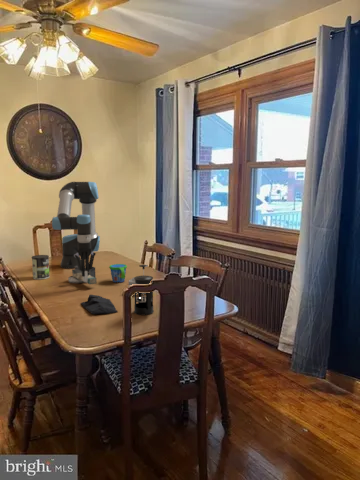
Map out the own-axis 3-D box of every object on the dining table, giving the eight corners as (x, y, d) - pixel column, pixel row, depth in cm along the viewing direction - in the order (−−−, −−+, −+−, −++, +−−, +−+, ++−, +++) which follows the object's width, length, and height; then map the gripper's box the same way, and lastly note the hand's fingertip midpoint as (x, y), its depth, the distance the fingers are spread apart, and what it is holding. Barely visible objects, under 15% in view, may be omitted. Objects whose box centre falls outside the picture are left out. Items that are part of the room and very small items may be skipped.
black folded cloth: (86, 318, 172) (86, 308, 172) (80, 303, 192) (79, 294, 192) (119, 313, 178) (119, 304, 178) (109, 300, 198) (109, 291, 198)
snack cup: (106, 279, 239) (106, 263, 238) (122, 277, 244) (122, 262, 242) (113, 285, 225) (113, 268, 224) (130, 283, 230) (130, 267, 228)
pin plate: (79, 277, 242) (79, 274, 242) (90, 280, 235) (90, 277, 235) (64, 281, 234) (64, 277, 233) (75, 284, 227) (75, 280, 227)
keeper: (74, 285, 225) (74, 270, 224) (72, 284, 228) (72, 269, 226) (95, 281, 233) (95, 267, 232) (93, 280, 236) (93, 266, 234)
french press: (130, 310, 182) (129, 263, 178) (148, 307, 186) (147, 261, 183) (140, 317, 172) (139, 268, 168) (158, 314, 176) (158, 266, 173)
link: (71, 276, 235) (70, 266, 234) (80, 275, 238) (79, 265, 237) (88, 285, 215) (88, 274, 214) (98, 283, 219) (97, 272, 218)
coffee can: (52, 276, 247) (51, 255, 244) (44, 280, 237) (43, 258, 234) (38, 275, 249) (37, 254, 246) (29, 279, 239) (28, 257, 236)
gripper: (76, 243, 208) (77, 284, 211) (97, 241, 216) (98, 281, 220) (70, 241, 214) (72, 282, 217) (91, 239, 222) (92, 278, 225)
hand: (85, 281), depth 218 cm, fingers closed
